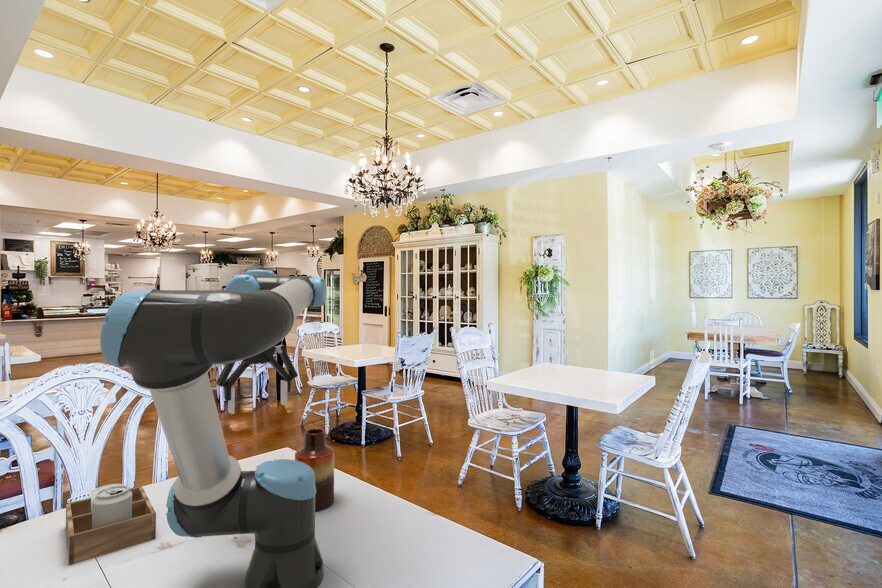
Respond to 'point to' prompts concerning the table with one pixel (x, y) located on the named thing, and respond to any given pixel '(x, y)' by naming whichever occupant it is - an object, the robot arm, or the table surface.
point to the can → (111, 506)
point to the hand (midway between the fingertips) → (258, 408)
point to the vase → (319, 466)
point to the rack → (108, 529)
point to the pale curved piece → (93, 493)
